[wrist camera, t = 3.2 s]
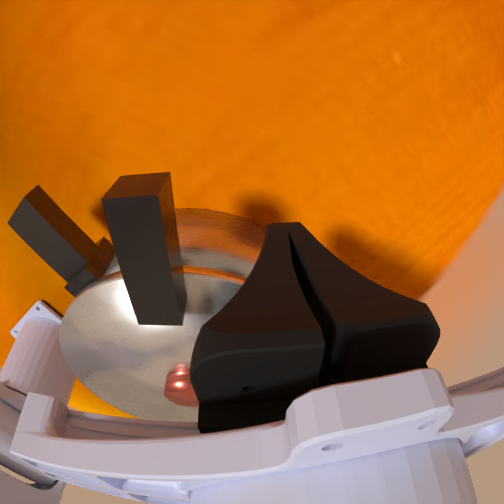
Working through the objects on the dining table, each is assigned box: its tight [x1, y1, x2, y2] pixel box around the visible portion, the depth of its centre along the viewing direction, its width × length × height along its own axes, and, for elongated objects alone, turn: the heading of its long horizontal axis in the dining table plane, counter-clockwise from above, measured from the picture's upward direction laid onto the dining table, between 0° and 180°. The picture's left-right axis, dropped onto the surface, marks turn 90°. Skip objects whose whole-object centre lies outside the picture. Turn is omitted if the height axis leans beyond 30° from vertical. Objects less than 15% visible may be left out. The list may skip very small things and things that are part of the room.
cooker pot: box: [8, 185, 266, 297], centre depth 20 cm, size 23×17×6 cm
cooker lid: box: [59, 172, 247, 422], centre depth 17 cm, size 22×18×3 cm
